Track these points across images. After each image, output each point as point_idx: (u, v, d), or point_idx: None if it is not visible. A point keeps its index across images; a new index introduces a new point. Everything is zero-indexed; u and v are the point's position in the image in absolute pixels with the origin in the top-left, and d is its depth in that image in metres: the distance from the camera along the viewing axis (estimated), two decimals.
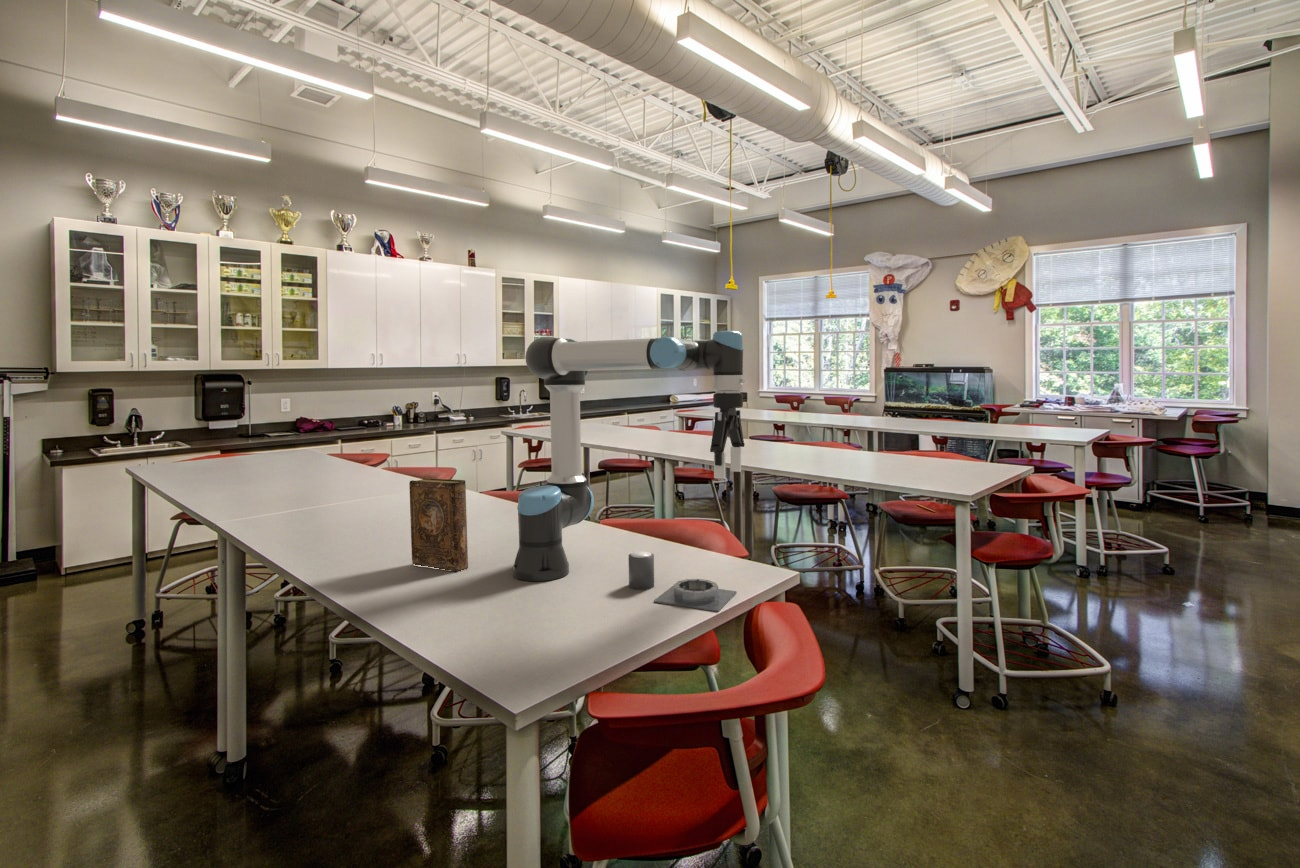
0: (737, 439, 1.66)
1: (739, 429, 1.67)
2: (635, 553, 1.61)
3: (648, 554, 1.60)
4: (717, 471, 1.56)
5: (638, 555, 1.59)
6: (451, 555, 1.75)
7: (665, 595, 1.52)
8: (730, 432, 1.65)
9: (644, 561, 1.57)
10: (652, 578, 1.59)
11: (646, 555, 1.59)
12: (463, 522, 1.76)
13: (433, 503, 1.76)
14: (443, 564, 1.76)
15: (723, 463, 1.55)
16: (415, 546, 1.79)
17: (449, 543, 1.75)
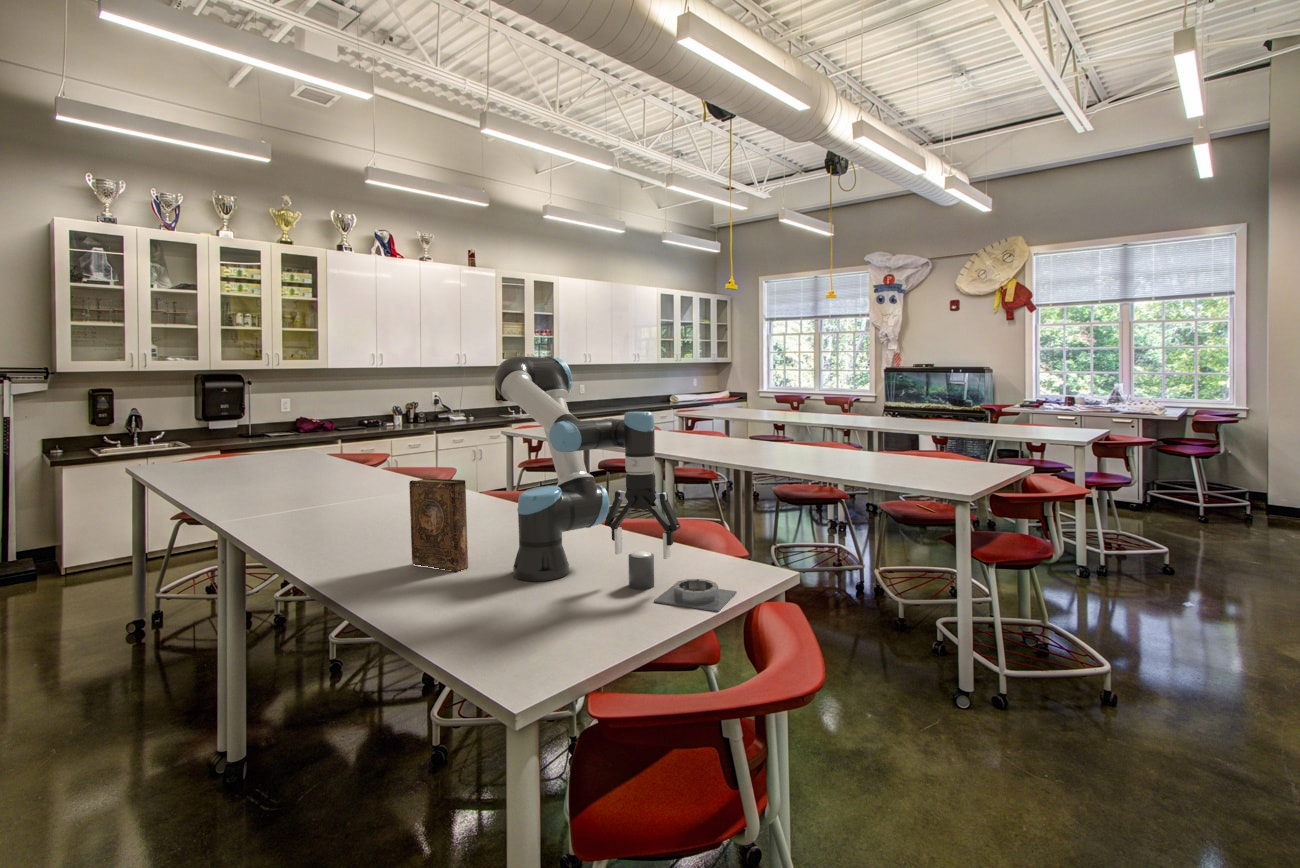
0: None
1: None
2: (635, 553, 1.61)
3: (648, 554, 1.60)
4: None
5: (638, 555, 1.59)
6: (451, 555, 1.75)
7: (665, 595, 1.52)
8: None
9: (644, 561, 1.57)
10: (652, 578, 1.59)
11: (646, 555, 1.59)
12: (463, 522, 1.76)
13: (433, 503, 1.76)
14: (443, 564, 1.76)
15: None
16: (415, 546, 1.79)
17: (449, 543, 1.75)
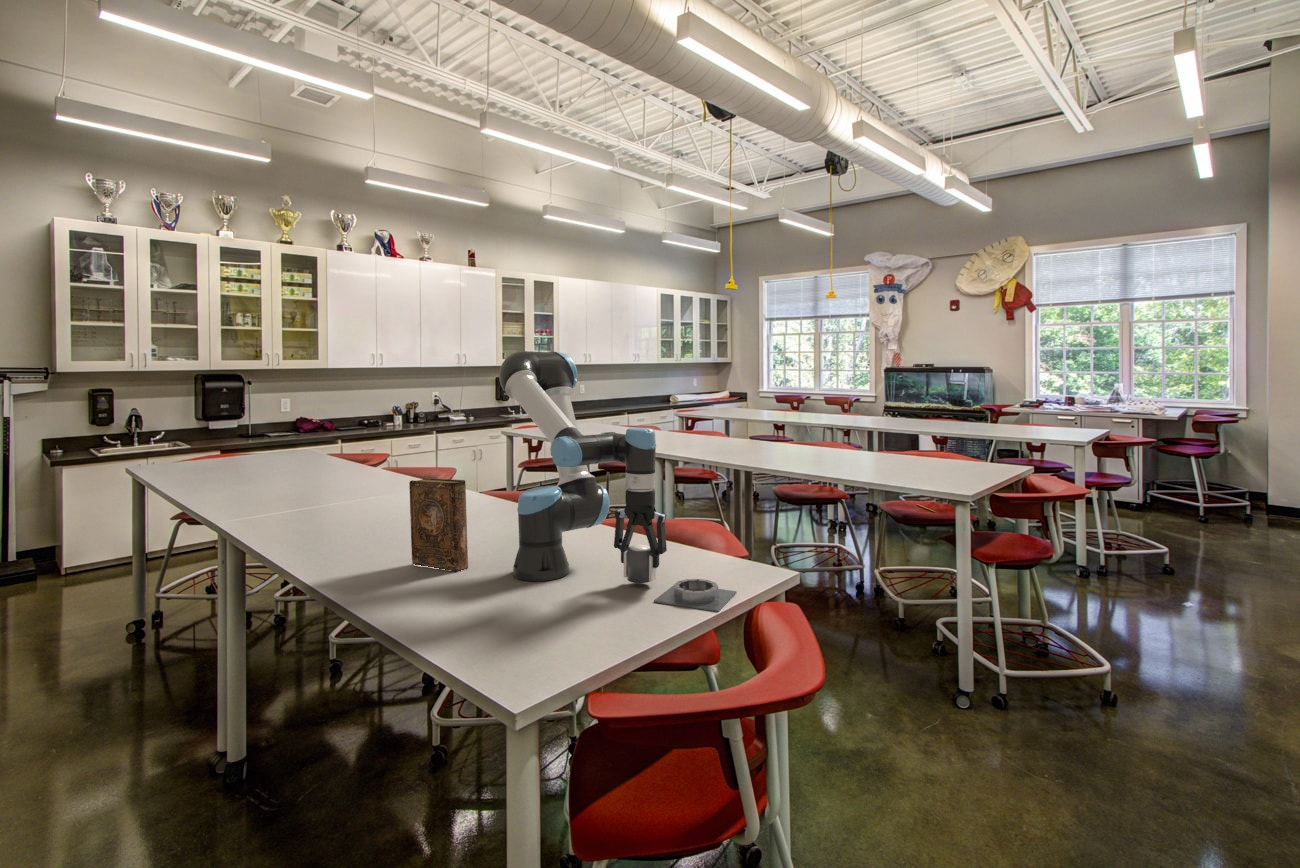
0: None
1: None
2: (634, 546, 1.61)
3: (647, 547, 1.60)
4: None
5: (637, 548, 1.59)
6: (451, 555, 1.75)
7: (665, 595, 1.52)
8: None
9: (643, 554, 1.58)
10: None
11: (645, 548, 1.60)
12: (463, 522, 1.76)
13: (433, 503, 1.76)
14: (443, 564, 1.76)
15: None
16: (415, 546, 1.79)
17: (449, 543, 1.75)
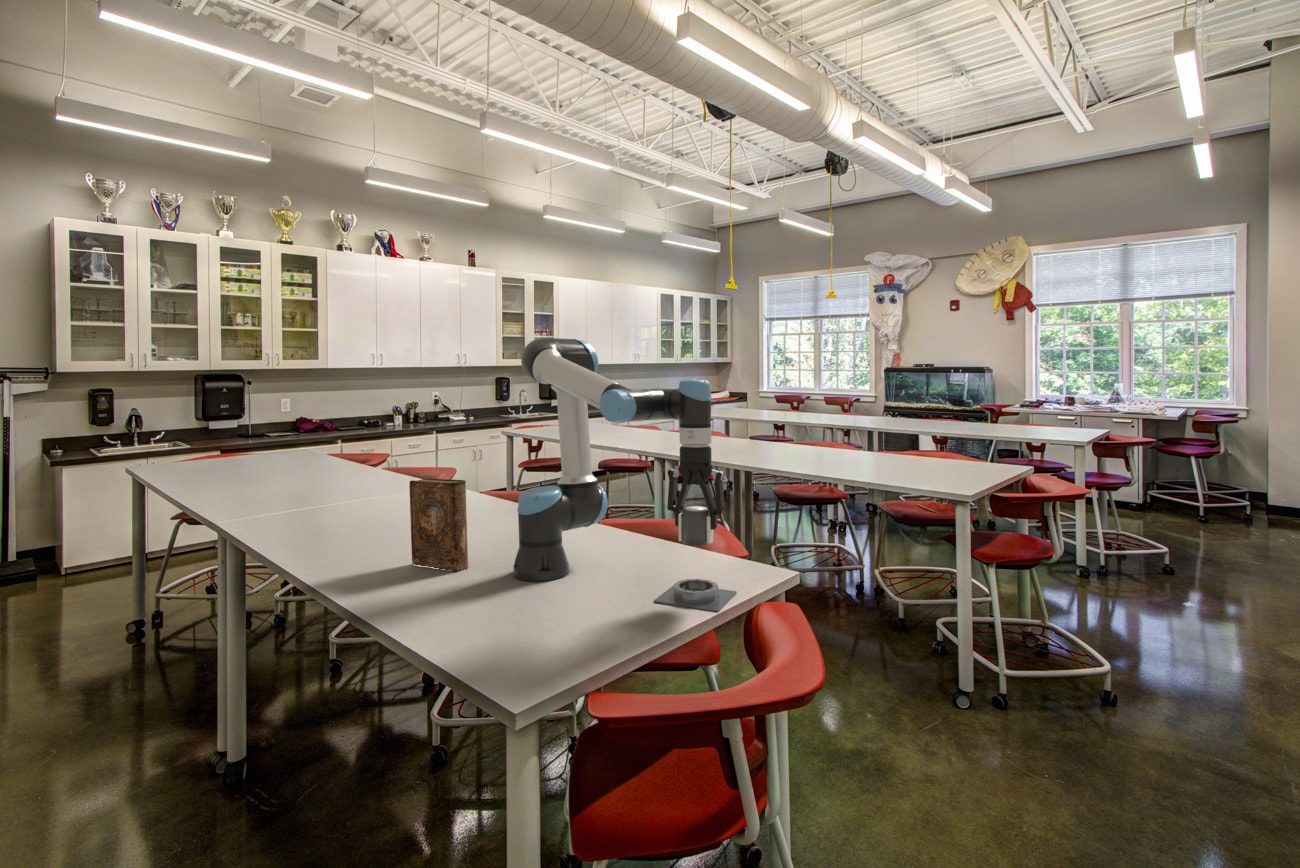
0: None
1: None
2: (689, 507, 1.51)
3: (703, 508, 1.50)
4: None
5: (693, 509, 1.49)
6: (451, 555, 1.75)
7: (665, 595, 1.52)
8: None
9: (700, 514, 1.47)
10: None
11: (702, 508, 1.49)
12: (463, 522, 1.76)
13: (433, 503, 1.76)
14: (443, 564, 1.76)
15: None
16: (415, 546, 1.79)
17: (449, 543, 1.75)
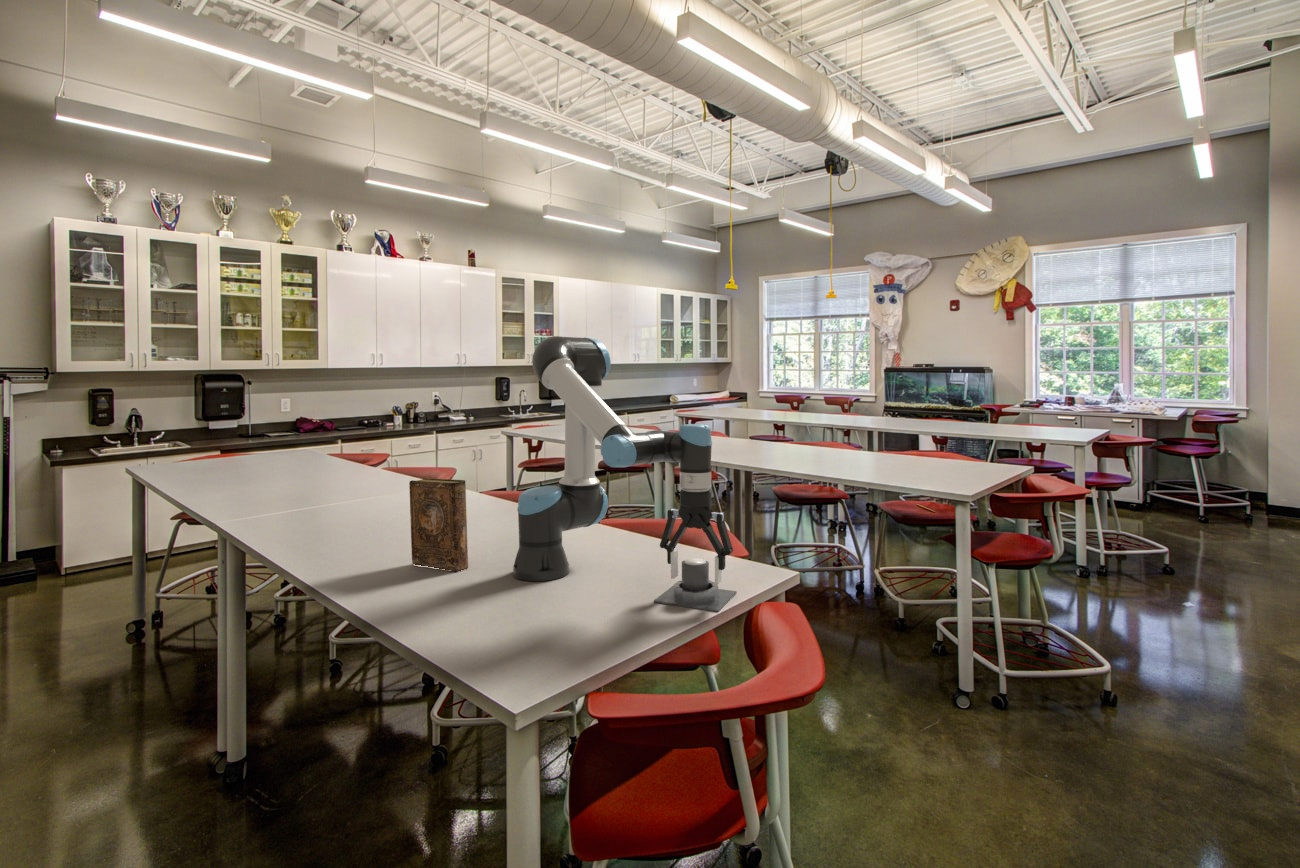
0: None
1: None
2: (688, 560, 1.52)
3: (703, 561, 1.51)
4: None
5: (692, 562, 1.50)
6: (451, 555, 1.75)
7: (665, 595, 1.52)
8: None
9: (699, 569, 1.48)
10: (707, 587, 1.50)
11: (701, 562, 1.50)
12: (463, 522, 1.76)
13: (433, 503, 1.76)
14: (443, 564, 1.76)
15: None
16: (415, 546, 1.79)
17: (449, 543, 1.75)
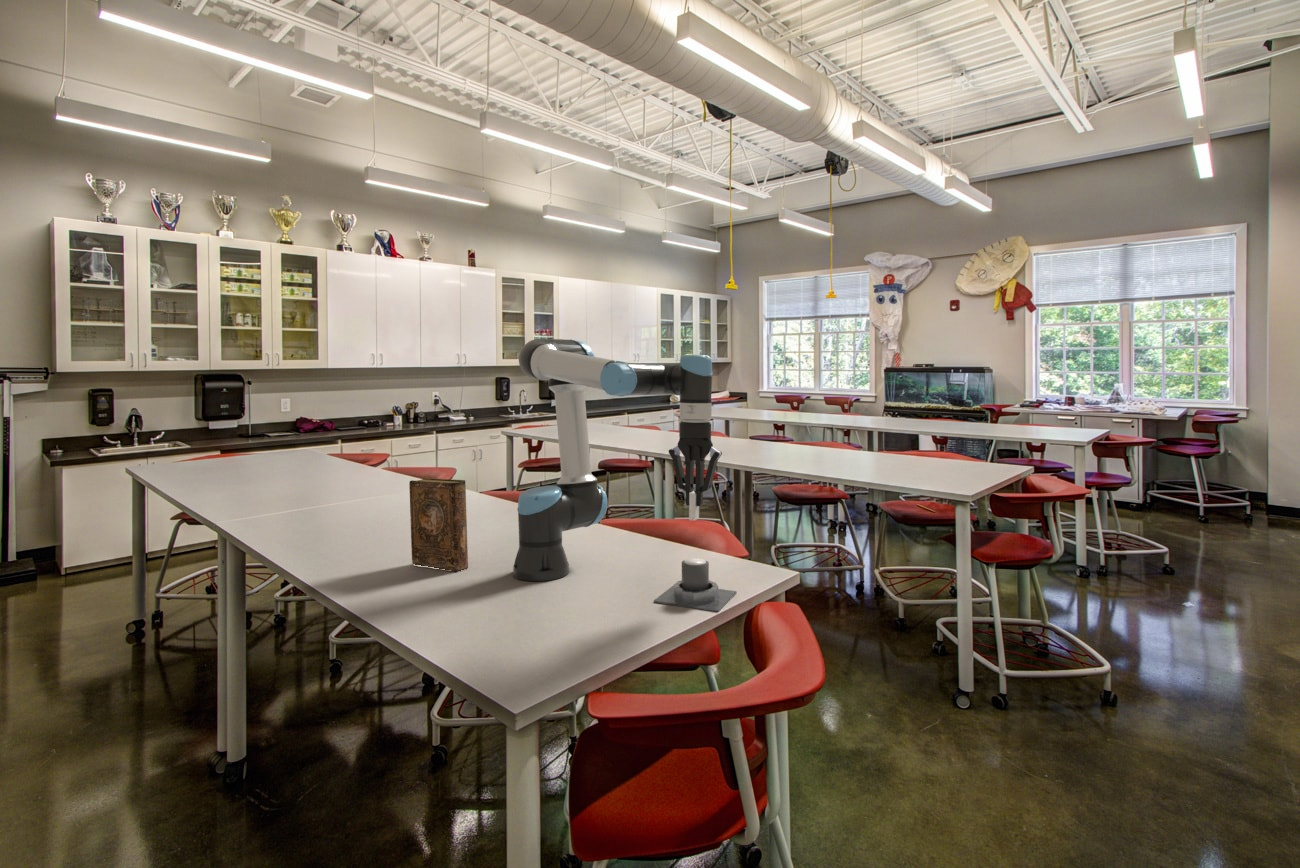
0: None
1: None
2: (688, 560, 1.52)
3: (703, 561, 1.51)
4: None
5: (692, 562, 1.50)
6: (451, 555, 1.75)
7: (665, 595, 1.52)
8: None
9: (699, 569, 1.48)
10: (707, 587, 1.50)
11: (701, 562, 1.50)
12: (463, 522, 1.76)
13: (433, 503, 1.76)
14: (443, 564, 1.76)
15: None
16: (415, 546, 1.79)
17: (449, 543, 1.75)
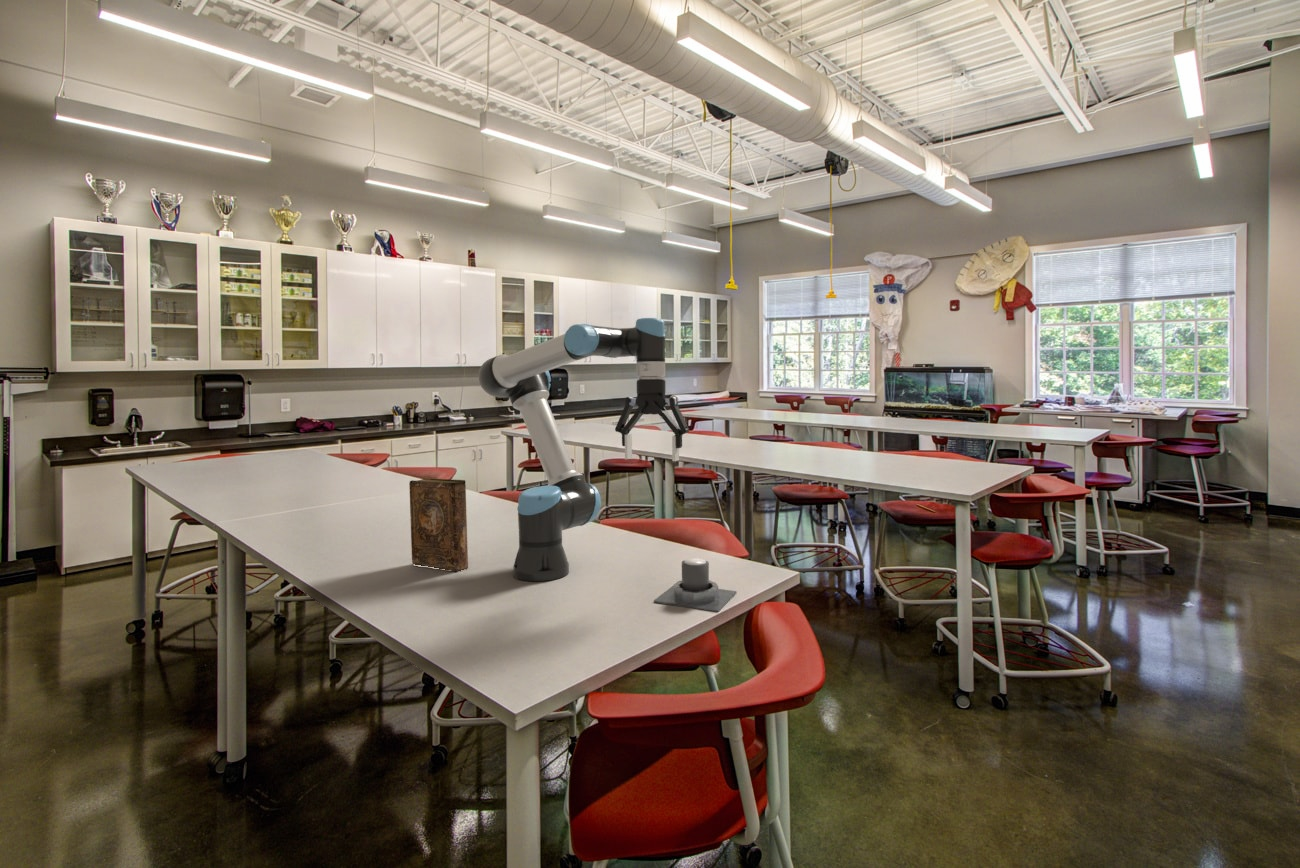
0: None
1: None
2: (688, 560, 1.52)
3: (703, 561, 1.51)
4: None
5: (692, 562, 1.50)
6: (451, 555, 1.75)
7: (665, 595, 1.52)
8: None
9: (699, 569, 1.48)
10: (707, 587, 1.50)
11: (701, 562, 1.50)
12: (463, 522, 1.76)
13: (433, 503, 1.76)
14: (443, 564, 1.76)
15: None
16: (415, 546, 1.79)
17: (449, 543, 1.75)
